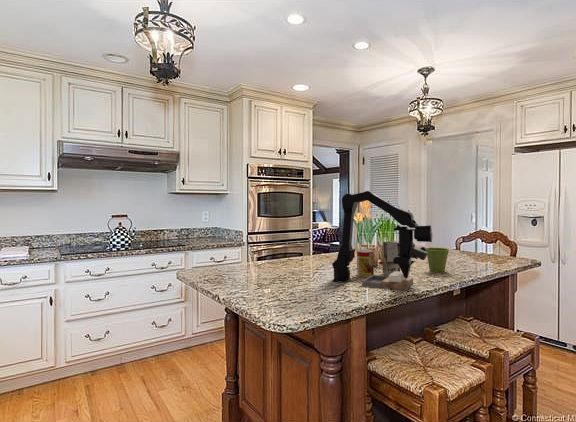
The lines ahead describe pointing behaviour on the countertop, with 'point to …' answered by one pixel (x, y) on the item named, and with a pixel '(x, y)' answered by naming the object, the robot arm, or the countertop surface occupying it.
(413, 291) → the countertop surface
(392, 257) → the coffee box
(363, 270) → the canned food
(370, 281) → the box
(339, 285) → the countertop surface
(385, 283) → the plate
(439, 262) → the plant pot
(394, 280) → the cream tile
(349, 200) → the robot arm
